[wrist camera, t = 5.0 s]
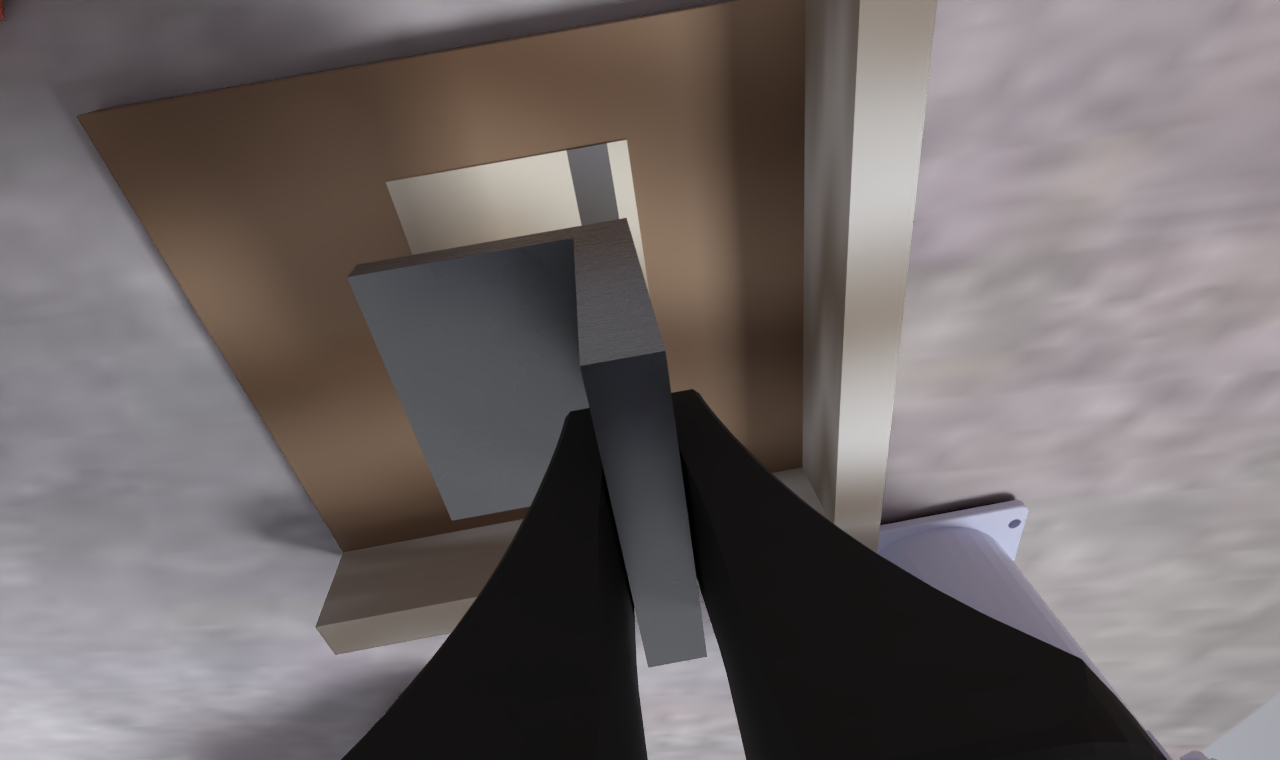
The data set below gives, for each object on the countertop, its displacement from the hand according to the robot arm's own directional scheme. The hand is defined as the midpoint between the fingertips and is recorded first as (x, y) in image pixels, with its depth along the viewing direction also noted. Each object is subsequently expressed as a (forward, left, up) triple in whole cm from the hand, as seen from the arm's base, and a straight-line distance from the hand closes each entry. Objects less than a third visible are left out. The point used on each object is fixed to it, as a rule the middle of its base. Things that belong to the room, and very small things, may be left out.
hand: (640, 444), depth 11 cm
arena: (-2, +2, -8) cm, 9 cm away
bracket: (0, +2, -3) cm, 3 cm away
